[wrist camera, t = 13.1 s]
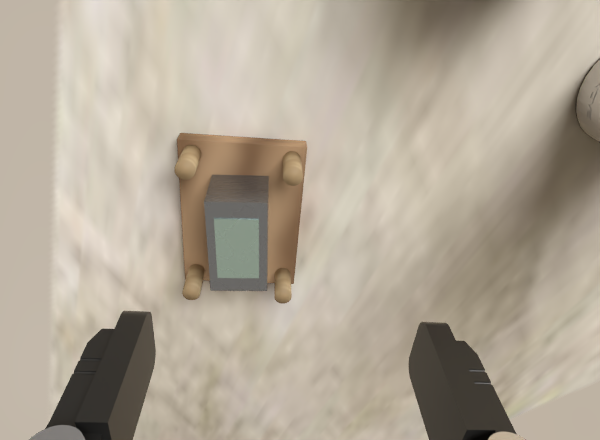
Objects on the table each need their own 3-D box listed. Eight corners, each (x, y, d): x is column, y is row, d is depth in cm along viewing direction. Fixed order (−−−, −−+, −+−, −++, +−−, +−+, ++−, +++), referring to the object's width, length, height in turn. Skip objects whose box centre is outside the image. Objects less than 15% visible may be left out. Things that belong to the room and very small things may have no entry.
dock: (306, 141, 40) (309, 164, 36) (293, 274, 48) (294, 306, 43) (180, 133, 39) (168, 155, 35) (187, 270, 47) (178, 302, 43)
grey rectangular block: (268, 175, 40) (267, 203, 36) (268, 258, 45) (266, 291, 40) (211, 174, 40) (203, 202, 35) (217, 257, 44) (210, 291, 40)
